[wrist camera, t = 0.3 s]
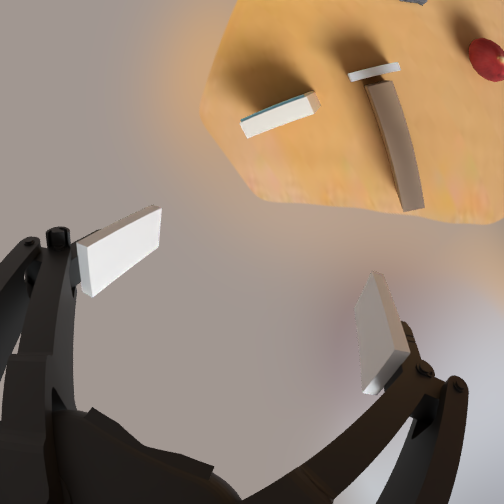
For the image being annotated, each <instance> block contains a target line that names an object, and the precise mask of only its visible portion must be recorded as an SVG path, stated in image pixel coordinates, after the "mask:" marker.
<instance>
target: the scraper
mask: <svg viewBox="0 0 504 504" xmlns="http://www.w3.org/2000/svg"><path fill="white" fill-rule="evenodd" d="M399 70H401V69H400V66H399V64H398V62H395V63H390V64H385V65H380V66H376V67H372V68H368V69H364V70H360V71H356V72H352V73H349V74H347V75H348V77H349V80H350V81H351V82H353V81H357V80H360V79H364V78H368V77H372V76H376V75H381V74H385V73H390V72H394V71H399ZM364 87H365V90H366V92H367V95H368V98H369V100H370V103H371V106H372V108H373V111H374V114H375V117H376V120H377V123H378V126H379V129H380V132H381V135H382V138H383V141H384V145H385V148H386V151H387V155H388V159H389V162H390V166H391V170H392V174H393V178H394V182H395V186H396V191H397V194H398V197H399V200H400V203H401V206H402V209H403V212H407V211H411V210H416V209H421V208H425V206H424V199H423V193H422V187H421V182H420V177H419V172H418V167H417V162H416V158H415V153H414V149H413V145H412V141H411V138H410V134H409V130H408V127H407V123H406V120H405V117H404V113H403V110H402V107H401V104H400V101H399V98H398V95H397V93H396V90H395V87H394V84H393V82H392V81H386V80H384V81H380V82H375V83H371V84H367V85H364Z"/></svg>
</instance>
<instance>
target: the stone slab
mask: <svg viewBox="0 0 504 504" xmlns="http://www.w3.org/2000/svg"><path fill="white" fill-rule="evenodd" d="M400 1H405V2H413V3H418V4H420V5H422V6H423V4H424V3H426V2H427V0H400Z"/></svg>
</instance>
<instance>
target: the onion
mask: <svg viewBox="0 0 504 504" xmlns="http://www.w3.org/2000/svg"><path fill="white" fill-rule="evenodd" d="M469 58H470V61H471V64H472V66H473V68H474V69H475V70H476V71H477V73H478V74H479V75H481V76H482V77H483V78H485V79H487V80H490V81H493V82H498V81H502V80H504V51H503V50H502V49H501V47H500V46H499V45H497V44H496V43H494V42H493V41H491V40H488V39H485V38H479V39H476V40H473V41H472V43H471V44H470V46H469Z"/></svg>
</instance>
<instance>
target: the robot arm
mask: <svg viewBox="0 0 504 504" xmlns="http://www.w3.org/2000/svg"><path fill="white" fill-rule="evenodd" d="M161 211H162V208H161V207H158V206H154V205H151V206H148V207H146V208H144V209H142V210H140V211H138V212H135V213H134V214H131V215H129V216H127V217H125V218H123V219H121V220H119V221H117V222H115V223H113V224H111V225H109V226H107V227H105V228H103V229H100V230H96V231H95V232H92V233H91V234H89V235H87V236H85V237H83V238H81V239H80V240H77V241H75V242H74V243H72V244H71V242H70V230H69V229H68V228H66V227H54V228H51V229H49V230H47V232H46V240H47V248H43V247H41V245H40V239H39V238H37V237H27V238H25V239H23V240H22V241H20V242H19V243H18V244H17V245H16V246H15V248H14V249H13V250H12V251H11V252H10V253H9V254H8V255H7V256H6V257H5V258H4V260H3V261H2V262H1V263H0V381H1V378H2V375H3V373H4V370H5V368H6V365H7V368H6V375H5V382H4V391H3V401H2V420H1V421H0V504H333V500H334V499H335V498H336V497H337V496H338V495H339V494H340V493H341V492H342V491H343V490H344V489H346V488H347V487H348V486H349V485H350V484H351V483H352V482H353V481H354V480H355V479H356V478H357V477H358V476H359V475H360V474H361V473H362V472H363V471H364V470H365V469H366V468H367V467H368V466H369V465H370V463H372V461H373V460H374V459H375V458H376V457H377V456H378V455H379V454H380V453H381V451H382V450H383V449H384V448H385V447H386V446H387V444H388V443H389V442H390V441H391V440H392V438H393V437H394V436H395V434H396V433H397V432H398V431H399V429H400V428H401V427H402V425H403V424H404V423H405V422H406V420H407V419H408V417H412V418H413V421H412V424H411V427H410V430H409V432H408V435H407V438H406V440H405V443H404V446H403V448H402V450H401V453H400V455H399V458H398V460H397V462H396V465H395V467H394V469H393V471H392V473H391V475H390V477H389V480H388V482H387V484H386V486H385V488H384V490H383V491H382V493H381V495H380V497H379V499H378V501H377V502H376V504H448V502H449V499H450V496H451V492H452V489H453V485H454V482H455V478H456V474H457V470H458V466H459V461H460V456H461V451H462V446H463V440H464V433H465V426H466V418H467V407H468V394H469V391H468V387H467V384H466V383H465V382H464V380H463V379H461V378H460V377H458V376H451V377H449V378H448V380H447V381H446V382H444V381H442V380H440V379H438V378H436V377H434V376H435V373H434V370H433V368H432V367H431V366H430V365H429V364H428V363H427V362H426V361H424V360H421V357H420V354H419V351H418V348H417V345H416V343H415V339H414V338H413V337H414V336H413V333H412V330H411V328H410V327H409V326H408V324H407V323H406V322H403V321H400V318H399V315H398V312H397V309H396V307H395V304H394V301H393V298H392V296H391V293H390V290H389V288H388V285H387V282H386V280H385V277H384V275H383V274H381V273H378V272H374V271H371V274H370V276H369V278H368V280H367V283H366V285H365V287H364V289H363V291H362V293H361V295H360V297H359V300H358V302H357V304H356V306H355V308H354V312H355V320H356V327H357V336H358V346H359V356H360V367H361V381H362V392H363V393H366V394H372V395H377V394H378V393H379V392H380V391H381V390H382V389H383V388H384V391H385V393H384V394H383V395H382V396H381V397H380V398H379V399H378V400H377V401H376V402H375V403H374V404H373V405H372V406H371V407H370V408H369V409H368V410H367V411H366V412H365V413H364V414H363V415H362V416H361V417H360V418H359V419H357V420H356V421H355V422H354V423H353V424H352V425H351V426H350V427H349V428H348V429H346V430H345V431H344V432H343V433H342V434H341V435H339V436H338V437H337V438H336V439H335V440H334V441H332V442H331V443H330V444H329V445H327V446H326V447H325V448H324V449H322V450H321V451H320V452H319V453H317V454H316V455H315V456H313V457H312V458H311V459H309V460H308V461H306V462H305V463H304V464H302V465H301V466H299V467H297V468H296V469H294V470H293V471H291V472H289V473H288V474H286V475H285V476H284V477H282V478H280V479H279V480H277V481H275V482H274V483H272V484H271V485H269V486H267V487H265V488H264V489H262V490H260V491H259V492H257V493H255V494H254V495H251V496H250V497H248V498H246V499H244V500H241V498H240V497H239V495H238V494H237V492H236V491H235V490H234V489H233V488H232V487H231V486H230V485H229V484H228V483H227V482H226V481H224V480H223V479H222V478H220V477H219V476H217V475H215V474H214V473H212V471H213V469H214V466H212V465H209V464H206V463H203V462H200V461H197V460H195V459H192V458H190V457H187V456H184V455H182V454H177V453H173V452H167V451H163V450H158V449H154V448H150V447H146V446H144V445H142V444H141V443H140V442H139V441H137V440H136V439H135V438H134V437H133V436H132V435H131V434H129V433H128V432H127V431H126V430H125V429H124V428H123V427H122V426H121V425H120V424H119V423H117V422H115V421H114V420H112V419H110V418H109V417H107V416H105V415H104V414H102V413H101V412H99V411H97V410H96V409H94V408H93V407H92V408H91V410H90V411H89V412H88V413H87V412H83V411H77V409H76V406H75V401H74V385H73V335H74V318H75V317H74V316H75V305H76V296H77V289H76V285H77V284H79V283H80V282H81V287H82V292H83V293H85V294H87V295H89V296H91V297H92V298H93V297H94V296H95V295H96V294H98V293H99V292H100V291H101V290H103V289H104V288H105V287H106V286H108V285H109V284H110V283H112V282H113V281H114V280H115V279H117V278H118V277H119V276H121V275H122V274H123V273H124V272H126V271H127V270H128V269H130V268H131V267H132V266H134V265H135V264H136V263H137V262H139V261H140V260H142V259H143V258H144V257H146V256H147V255H148V254H150V253H151V252H152V251H154V250H155V249H156V248H158V247H159V234H160V222H161ZM24 274H25V280H24ZM21 332H22V333H21ZM20 334H21V338H20V343H19V349H18V353H17V354H12V351H13V349H14V347H15V345H16V342H17V340H18V338H19V336H20Z"/></svg>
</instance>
